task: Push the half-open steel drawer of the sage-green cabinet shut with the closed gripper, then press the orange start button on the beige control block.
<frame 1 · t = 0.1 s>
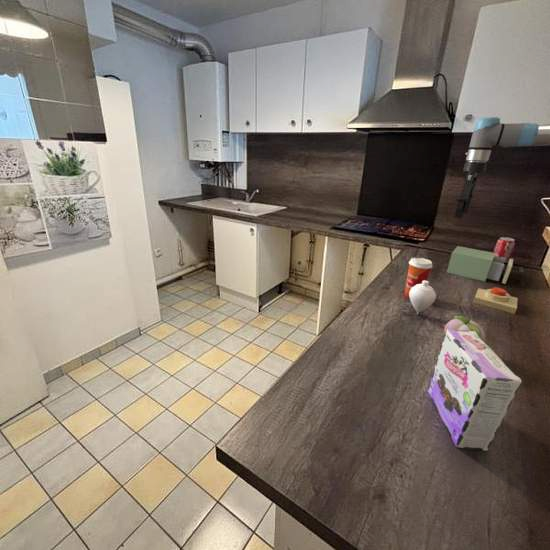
hand: (460, 215, 123), 25 cm above the worktop, tool pointing down, fingers open, 13 cm apart
spinning top: (417, 315, 95), on the worktop
candy box: (453, 418, 58), on the worktop
soda can: (499, 262, 146), on the worktop
cabinet: (467, 272, 131), on the worktop
decorative fruit: (459, 350, 79), on the worktop
paper cup: (412, 296, 107), on the worktop
start button: (498, 291, 103), point 4 cm above the worktop, slide at 0.1 cm
drawer: (496, 268, 124), point 5 cm above the worktop, slide at 5.5 cm
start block: (494, 303, 104), on the worktop
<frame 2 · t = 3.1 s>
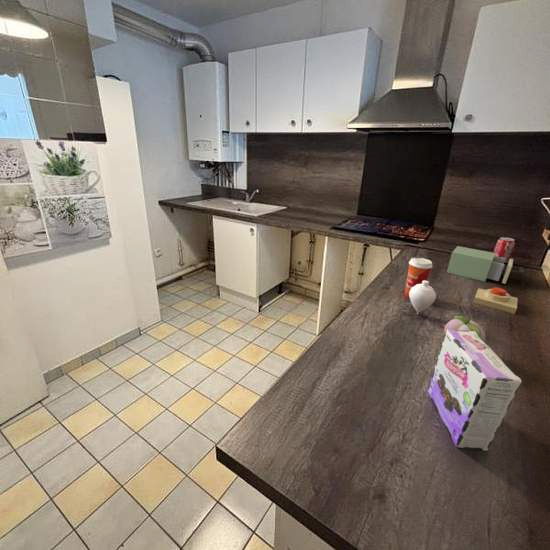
nothing on the worktop moved.
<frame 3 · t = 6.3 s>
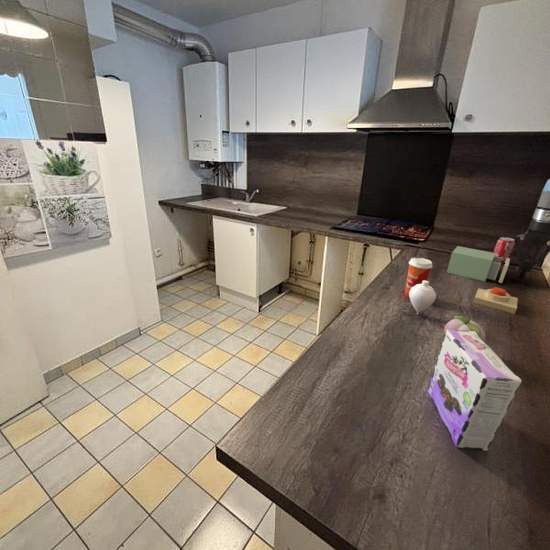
hand: (521, 277, 119), 3 cm above the worktop, tool pointing down, fingers closed
drawer: (492, 267, 124), point 5 cm above the worktop, slide at 4.3 cm, touching gripper
everything else where it was.
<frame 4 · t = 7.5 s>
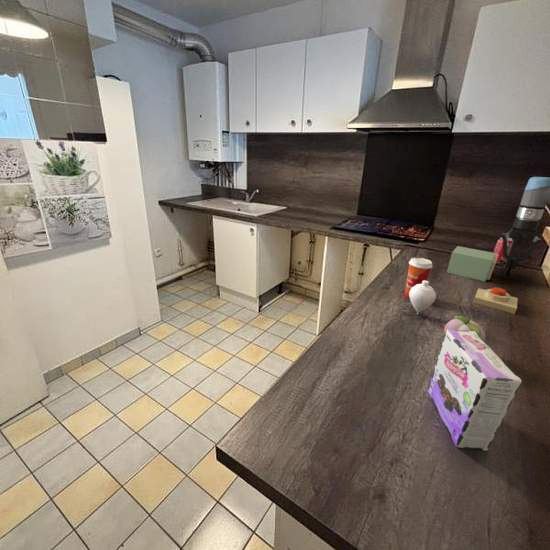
hand: (507, 274, 122), 3 cm above the worktop, tool pointing down, fingers closed
drawer: (480, 265, 127), point 5 cm above the worktop, slide at 0.0 cm, touching cabinet, gripper
everything else where it was.
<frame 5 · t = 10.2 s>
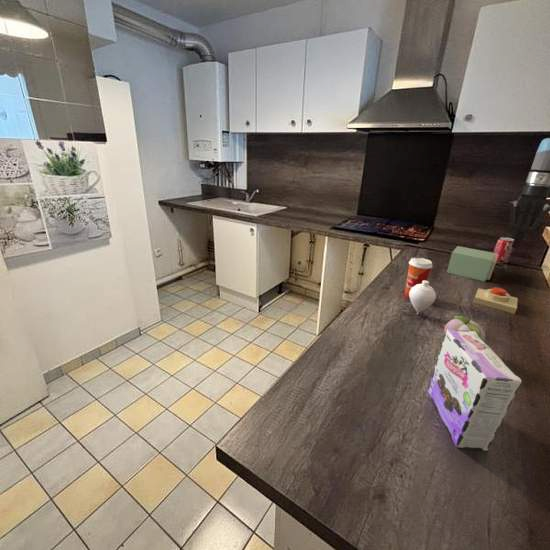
hand: (513, 246, 115), 16 cm above the worktop, tool pointing down, fingers closed
drawer: (480, 265, 127), point 5 cm above the worktop, slide at 0.0 cm, touching cabinet
everything else where it was.
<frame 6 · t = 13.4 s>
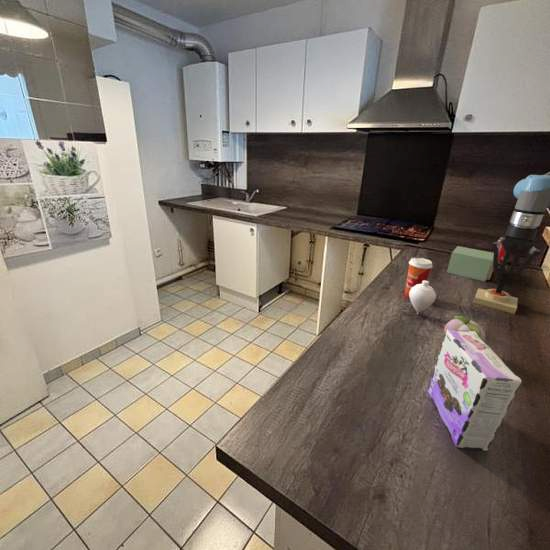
hand: (498, 291, 103), 5 cm above the worktop, tool pointing down, fingers closed
start button: (497, 294, 103), point 4 cm above the worktop, slide at -0.9 cm, touching gripper
everything else where it was.
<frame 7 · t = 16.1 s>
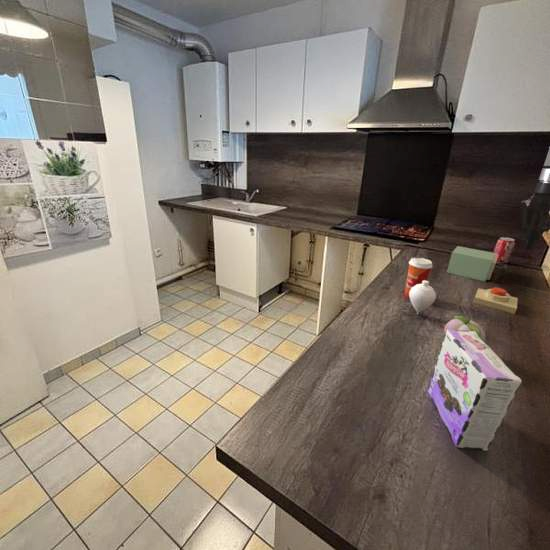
hand: (527, 248, 107), 17 cm above the worktop, tool pointing down, fingers closed
start button: (498, 291, 103), point 4 cm above the worktop, slide at 0.1 cm
everything else where it was.
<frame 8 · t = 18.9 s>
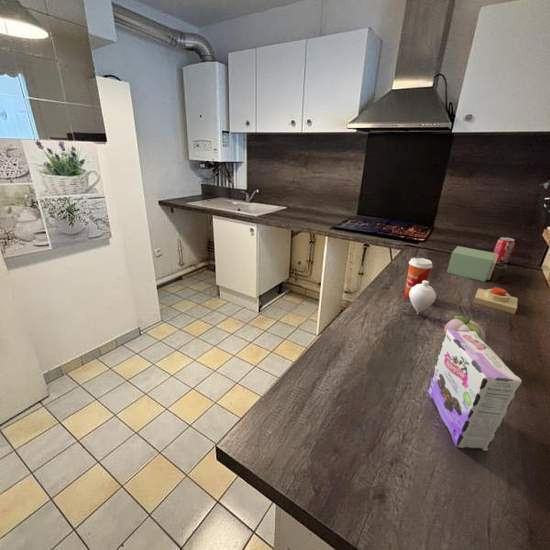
hand: (544, 228, 118), 22 cm above the worktop, tool pointing down, fingers closed
nothing on the worktop moved.
at the end: drawer slide at 0.0 cm; start button pushed in 1.0 cm at the most during the clip, back to where it started at the end; start button slide at 0.1 cm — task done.
